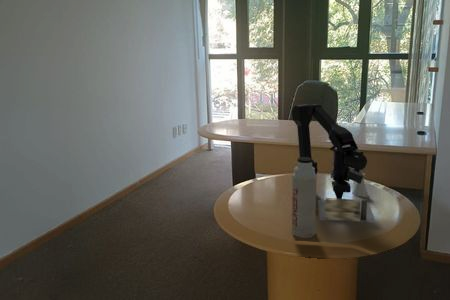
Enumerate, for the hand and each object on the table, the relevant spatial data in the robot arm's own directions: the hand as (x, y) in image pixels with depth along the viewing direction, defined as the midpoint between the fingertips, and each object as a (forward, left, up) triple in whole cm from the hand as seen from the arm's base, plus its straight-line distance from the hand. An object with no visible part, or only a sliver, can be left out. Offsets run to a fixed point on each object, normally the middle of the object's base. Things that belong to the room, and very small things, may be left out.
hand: (339, 201), depth 159 cm
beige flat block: (+1, -6, -3) cm, 7 cm away
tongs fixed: (+2, -10, -3) cm, 10 cm away
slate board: (+2, -2, -4) cm, 5 cm away
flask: (+10, +17, -4) cm, 20 cm away
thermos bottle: (-14, -23, -4) cm, 27 cm away
